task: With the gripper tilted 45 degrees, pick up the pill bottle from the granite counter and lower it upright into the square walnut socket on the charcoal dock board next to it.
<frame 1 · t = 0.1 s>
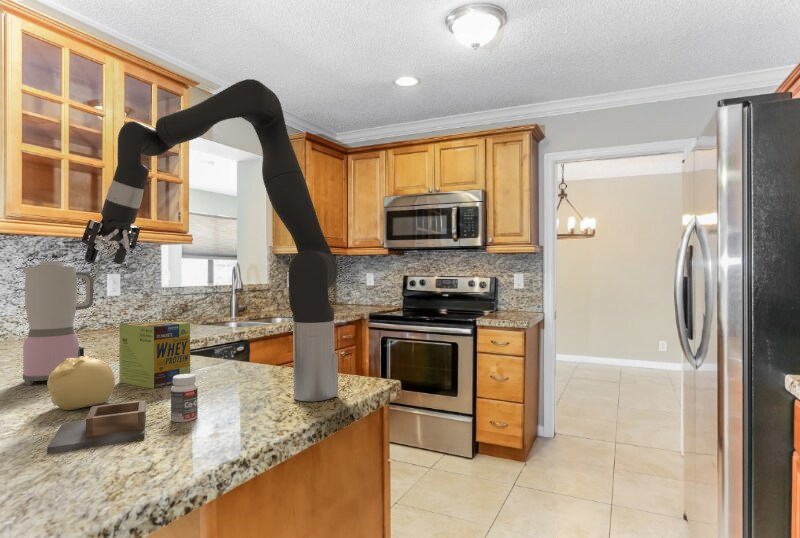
hand: (104, 262, 118), 31 cm above the countertop, tool tilted 20°, fingers open, 8 cm apart
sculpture: (82, 407, 100), on the countertop
socket dock: (117, 431, 84), on the countertop
protein box: (155, 382, 123), on the countertop
blender: (59, 380, 127), on the countertop
pill bottle: (184, 419, 90), on the countertop
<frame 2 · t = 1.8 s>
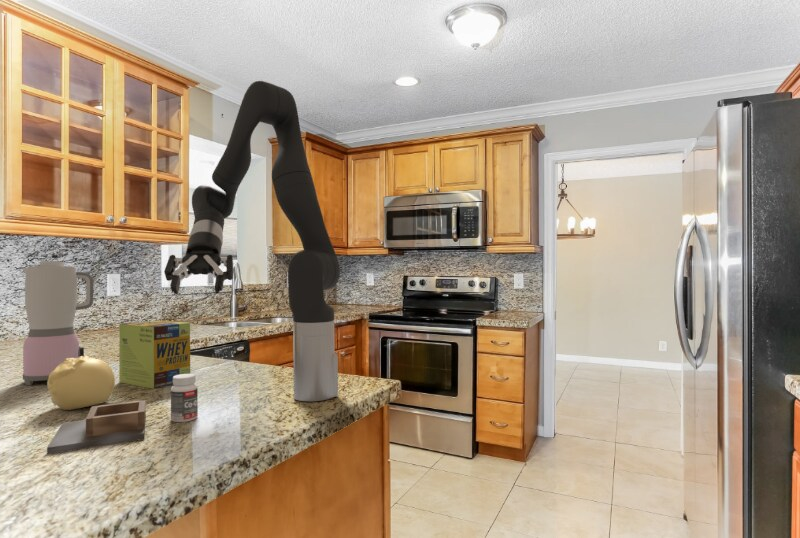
hand: (196, 291, 102), 24 cm above the countertop, tool tilted 45°, fingers open, 8 cm apart
nothing on the countertop moved.
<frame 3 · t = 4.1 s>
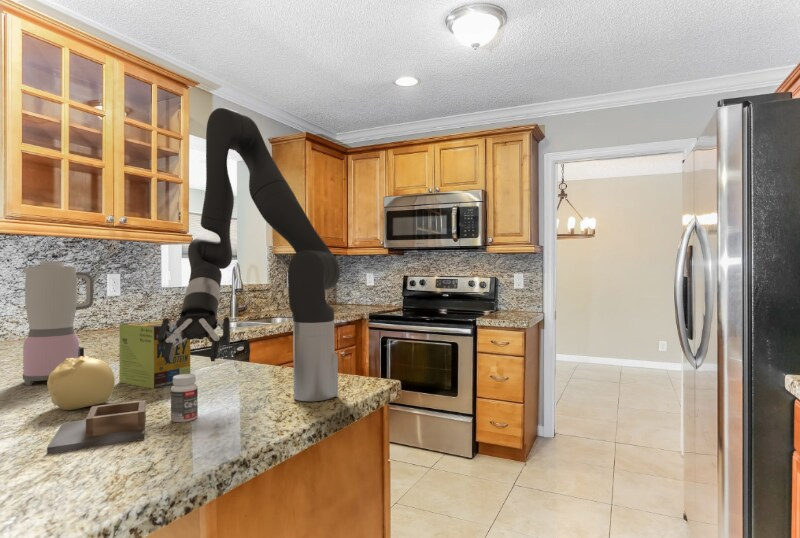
hand: (190, 360, 96), 10 cm above the countertop, tool tilted 45°, fingers open, 8 cm apart
nothing on the countertop moved.
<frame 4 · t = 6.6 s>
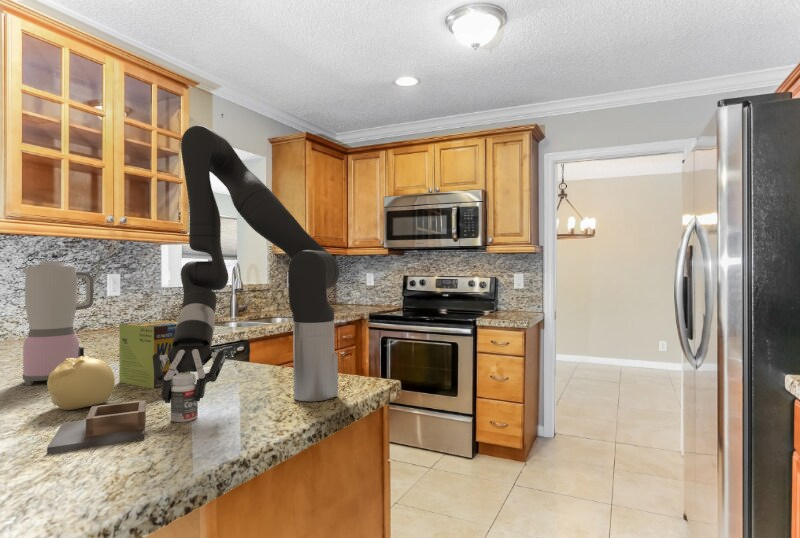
hand: (182, 399, 89), 4 cm above the countertop, tool tilted 45°, fingers closed on pill bottle, 4 cm apart
pill bottle: (184, 419, 90), on the countertop, touching gripper
everything else where it was.
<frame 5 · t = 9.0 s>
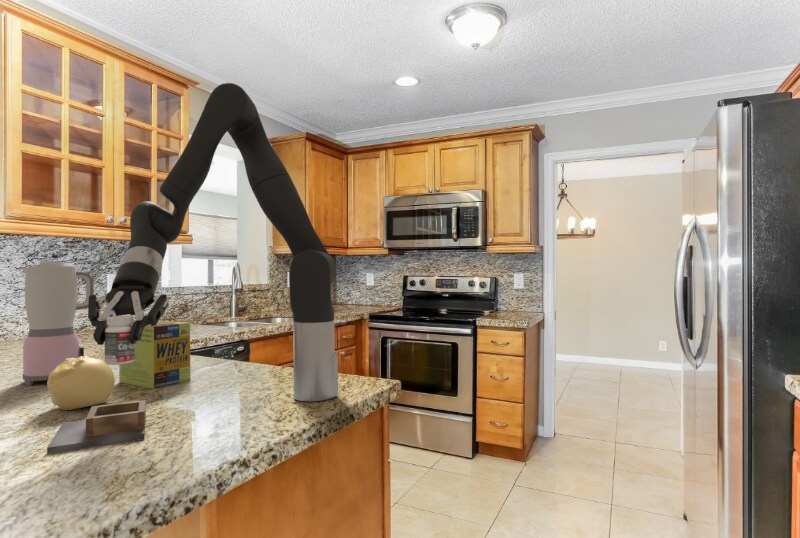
hand: (115, 341, 83), 16 cm above the countertop, tool tilted 45°, fingers closed on pill bottle, 4 cm apart
pill bottle: (120, 363, 85), point 12 cm above the countertop, touching gripper
everything else where it was.
when the fingers open (6 cm above the countertop, at t = 11.4 s): pill bottle stays where it is, resting on socket dock.
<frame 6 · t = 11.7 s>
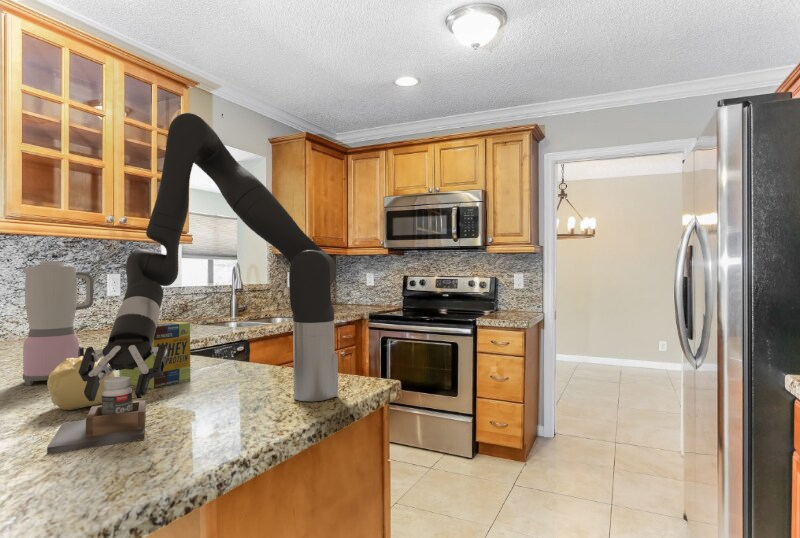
hand: (114, 397, 82), 6 cm above the countertop, tool tilted 45°, fingers open, 7 cm apart
pill bottle: (117, 426, 84), point 1 cm above the countertop, touching socket dock
everything else where it was.
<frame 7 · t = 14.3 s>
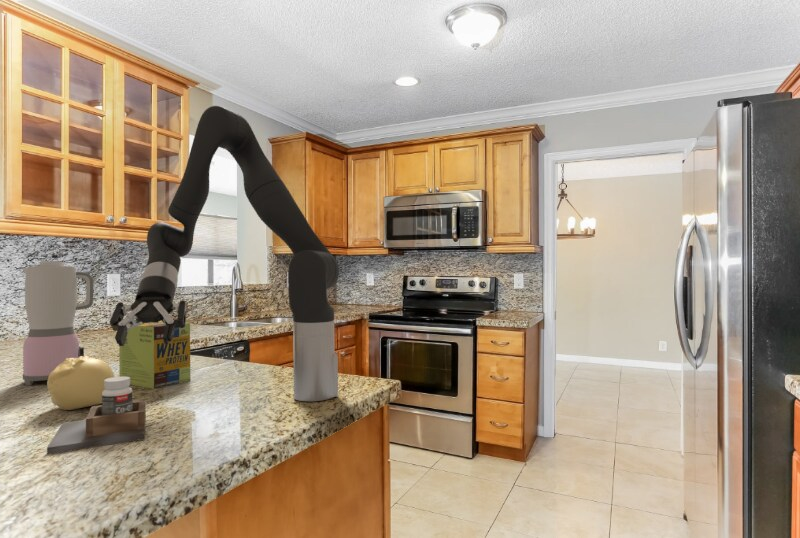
hand: (143, 342, 96), 14 cm above the countertop, tool tilted 45°, fingers open, 8 cm apart
nothing on the countertop moved.
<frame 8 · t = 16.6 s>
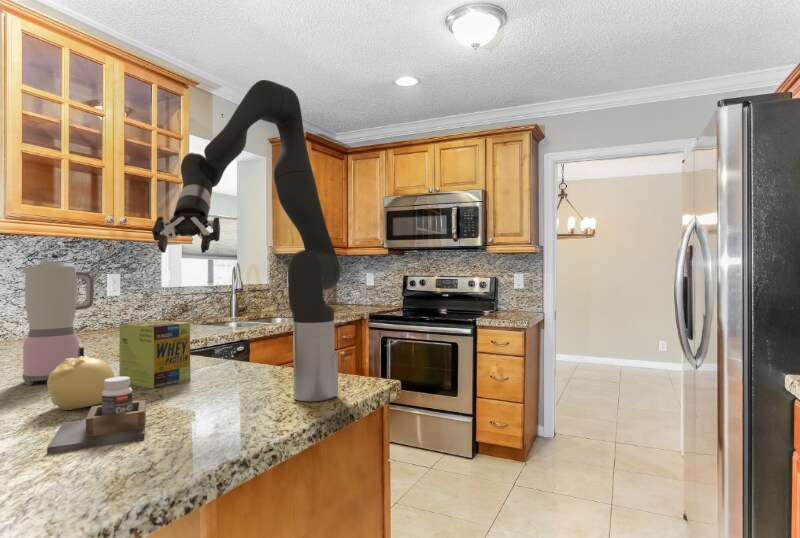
hand: (182, 249, 105), 34 cm above the countertop, tool tilted 45°, fingers open, 8 cm apart
nothing on the countertop moved.
at the end: pill bottle 0.2 cm off-centre on the socket dock, point 0.8 cm above the socket dock's base; pill bottle tilted 0°; the gripper is holding nothing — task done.
